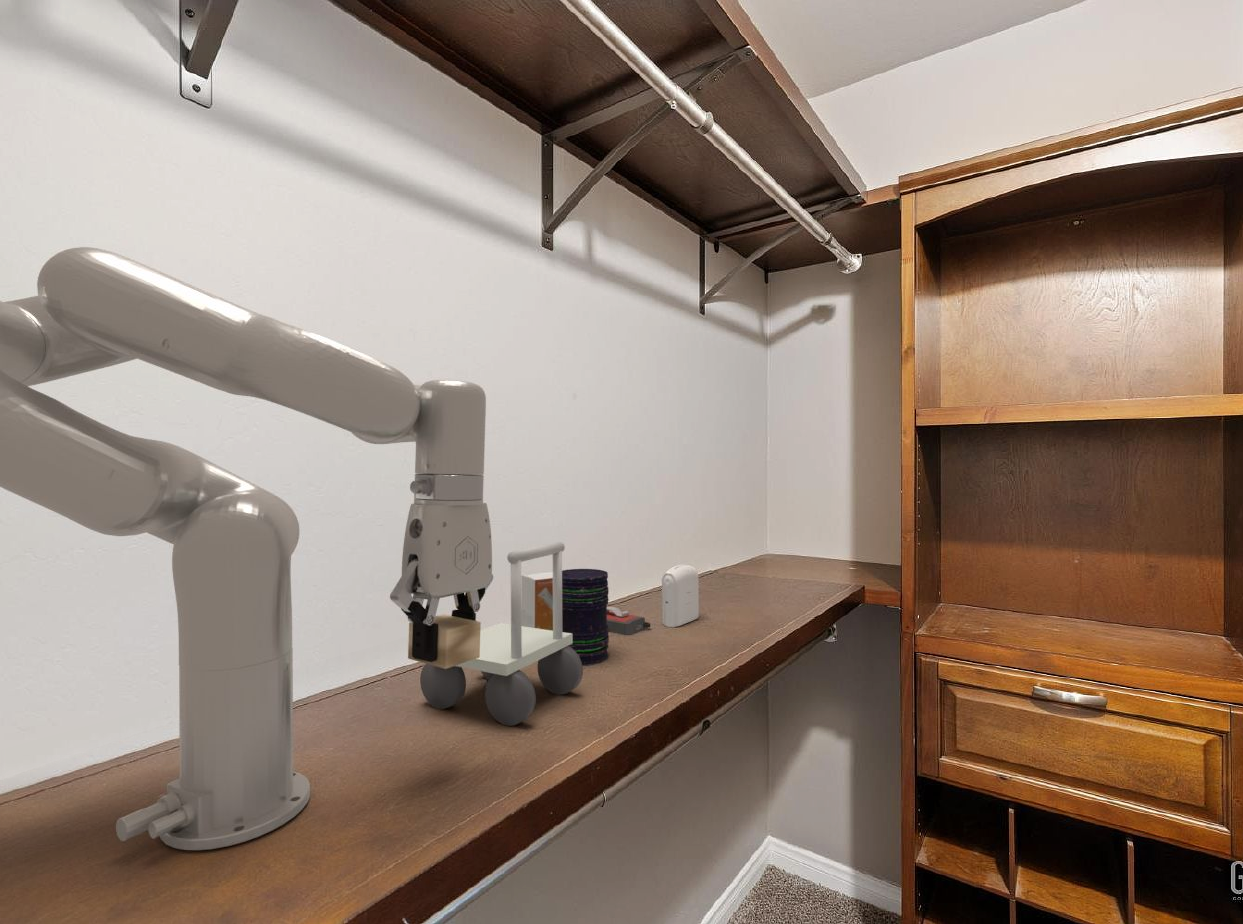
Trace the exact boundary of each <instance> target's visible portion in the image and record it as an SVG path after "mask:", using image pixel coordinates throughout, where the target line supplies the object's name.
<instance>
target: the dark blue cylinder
mask: <svg viewBox="0 0 1243 924" xmlns="http://www.w3.org/2000/svg"><path fill="white" fill-rule="evenodd" d="M608 578H609V573H608V571H605V570H603V569H602V570H601V569H597V568H573V569H572V568H571V569H562V632H565V633H572V639H573V643H572V644H570V645H568V646H569V647H571V648H572V649H573V650H574V651H575V652H576V653H577V654H578V656H579V658H580V660H581V662H582V667H584V666H585V667H586V666H593V665H597V664H601V663H603V662H605V661H606V660H608V659H609V652H608V649H609V643H610V636H609V633H610V632H609V629H608V625H607V606H608V604H609V600H610V599H609V581H608Z"/></svg>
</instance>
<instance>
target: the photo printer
mask: <svg viewBox="0 0 1243 924" xmlns="http://www.w3.org/2000/svg"><path fill="white" fill-rule="evenodd" d="M699 582H700V581H699V572H698V569H697V568H695V567H694V566H693V565H688V564H678V565H675V566H673V567H671V568H670V569H668V570H666V572H665V573H663V575H662V578H661V606H662V607H661V612H662V614H661V615H662V617H661V619H662V624H663V625H664V626H665V627H667V628H676V627H681V626H682V625H685V624H687V623H690V622H692V621H695V620H697V619H699V615H700V602H699V601H700V598H699V597H700V595H699V593H700V591H699V588H700V587H699Z"/></svg>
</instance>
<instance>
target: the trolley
mask: <svg viewBox="0 0 1243 924" xmlns="http://www.w3.org/2000/svg"><path fill="white" fill-rule="evenodd" d="M565 549H566V548H565V544H564V543H563V542H562V541H556V542H552V543H547V544H543V545H537V546H533V547H527V548H523V549H517V550H513V551H509V553H508V554H507V557H506V558H507V561H508V562H509V564H510V624H509V623H501V622H499V623H497V624H494V625H491V626H488V627H485V628H482V629H480V657H479V658H476V659H473V660H470V661H467V662H464V663H461V664H459V665H456V666H453V667H450V668H447V669H444V668H440V667H437V666H433V665H430V664H426V663H424V665H423V667H422V669H421V670H420V671H421V672H420V682H419V683H420V689H421V692H422V694H423V696H424V699H425V700H426V702H427V703H428V704H430V705H431V706H432V707H433V708H435V709H439V710H446V709H448V708H450V707H452V706H455V705H456V704H458V703H459V702H460V701H462V699H463V698H464V695H466V694H465V692H466V689H467V679H466V675H465V671H464V669H469V670H473V671H480V672H481V674H482V676H483V677H485V679H487V680H488V681H487V683H486V686H485V690H484V691H485V693H484V694H485V697H484V698H485V702H486V705H487V709H488V711H489V713H490V714H491V716H492V717H493V718H494V719H495V720H496V721H497V722H498V723H500V724H502V725H505V726H509V727H510V726H512V727H513V726H516V725H518V724H520V723H521V722H523V721H525V720H526V719H528V718H529V717H530V716H531V715H532V713H533V712H534V710H535V707H536V701H537V699H536V691H535V687H534V685H533V682H532V681H531V679H530V678H529V677H528V675H527V674H526V673H525V672H523V671H522V669H523V668H526V667H528V666H530V665H531V664H534V663H536V662H537V666H536V668H537V675H538V678H539V680H540V682H541V684H542V685H543V687H544V688H545V689H546V690H547V691H548V692H550V693H552V694H554V695H560V696H561V695H566V694H568V693H571V691H572V690H575V689H576V688H577V687H578V686H579V685H580V683H581V681H582V679H583V674H584V672H583V671H584V668H583V667H584V666H582V662H581V660H580V658H579V656H578V654H577V653H576V652H575V651H574V650H573V649H572V648H571V647H569V646H568V645H570V644H572V643H573V639H572V633H565V632H562V571H563V552H564V551H565ZM551 555H552V572H553V631H551V630H544V629H537V628H530V627H524V626H521V601H522V591H521V576H522V562H526V561H530V560H531V561H532V560H535V559H539V558H543V557H546V556H551ZM463 668H464V669H463Z"/></svg>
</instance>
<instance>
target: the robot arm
mask: <svg viewBox="0 0 1243 924" xmlns="http://www.w3.org/2000/svg"><path fill="white" fill-rule="evenodd" d="M36 285H37V287H36V288H37V294H38V295H34V296H30V297H25V298H20V299H14V300H9V301H1V300H0V488H2V489H4V490H5V491H8V492H10V493H12V494H14V495H17V496H19V497H22V498H23V499H26V500H28V501H30V502H31V503H34V504H36V505H39V506H42V507H43V508H45V509H48V510H50V511H52V512H54V513H56V514H58V515H61V516H62V517H64V518H67V519H69V520H71V521H73V522H74V523H77V524H78V525H81V526H82V527H85V528H87V529H89V530H91V531H93V532H96V533H99V534H102V535H106V536H115V537H129V536H137V535H141V534H145V533H147V534H149V535H151V536H154V537H156V538H158V539H161V540H162V541H165V542H167V543H169V544H171V545H173V547H172V555H171V569H172V570H171V572H172V579H173V586H174V594H175V602H176V609H177V610H176V611H177V624H178V626H177V627H178V628H177V631H178V632H177V633H178V668H179V669H178V671H179V673H178V675H179V676H178V678H179V680H178V681H179V684H178V686H179V687H178V688H179V691H178V693H179V695H178V696H179V701H178V702H179V703H178V704H179V706H178V707H179V721H178V724H179V726H178V727H179V778H176V779H175V780H172V781H170V782H168V783H167V785H166V792H167V793H166V794H165V795H163V796H161V797H159V798H158V799H157V800H156V803H155V804H152V805H150V806H148V807H146V808H140V809H138V810H136V811H133V812H131V813H129V814H127V815H125V816H122V817H119V818H118V819H117V821H116V824H115V831H116V834H117V837H118V839H119V840H120V841H121V842H126V841H127V840H129V839H132V838H134V837H136V836H138V835H140V834H142V833H145V832H146V831H148V835H149V836H150V838H151V839H157V838H160V840H161V842H163V843H164V844H165V845H167V846H169V847H171V848H174V849H178V850H182V851H183V850H184V851H207V850H215V849H221V848H225V847H230V846H234V845H238V844H242V843H244V842H247V841H251V840H254V839H257V838H259V837H261V836H263V835H265V834H267V833H270V832H272V831H274V830H276V829H278V828H279V827H281V826H283V825H285V824H286V823H288V822H289V821H290V820H292V819H293V818H295V817H296V816H297V815H298V814H299V813H300V812H301V811H302V810H303V809H304V808H305V806H306V805H307V804H308V802H309V800H310V798H311V784H310V780H309V779H308V778H307V776H305V775H303V774H302V773H301V772H298V771H294V713H293V712H294V703H293V702H294V700H293V698H294V692H293V690H294V688H293V687H294V685H293V683H294V681H293V679H294V678H293V674H294V673H293V671H294V670H293V668H294V667H293V665H294V664H293V661H294V660H293V654H294V653H293V650H294V649H293V608H292V607H293V606H292V605H293V602H292V601H293V600H292V578H291V575H292V573H291V572H292V571H291V570H292V569H291V565H292V555H293V553H294V552H295V550H296V548H297V547H298V544H299V539H300V523H299V520H298V517H297V514H296V512H294V510H293V509H292V507H291V506H290V505H289V504H288V503H287V502H286V501H285V500H283V499H282V498H280V497H279V496H277V495H276V494H274V493H273V492H270V491H268V490H266V489H264V488H262V487H260V486H258V485H256V484H255V483H252V482H250V481H248V480H246V479H244V478H242V477H241V476H239V475H237V474H235V473H232V472H231V471H229V470H227V469H225V468H223V467H222V466H219V465H217V464H215V463H214V462H211V461H209V460H207V459H206V458H204V457H202V456H200V455H198V454H196V453H194V452H192V451H190V450H187V449H185V448H183V447H180V446H179V445H176V444H173V443H171V442H170V443H169V442H166V441H163V440H157V439H149V438H143V437H137V436H133V435H129V434H127V433H125V432H123V431H122V432H121V431H119V430H117V429H114V428H112V427H111V426H108V425H106V424H103V423H101V422H100V421H97V420H96V419H93V418H91V417H89V416H87V415H85V414H84V413H81V412H79V411H77V410H75V409H73V408H72V407H70V406H68V405H67V404H65V403H63V402H61V401H59V400H58V399H55V398H54V397H51V396H50V395H47V394H45V393H43V392H40V391H38V390H36V389H34V388H32V387H31V386H36V385H40V384H45V383H49V382H52V381H53V382H54V381H57V380H61V379H65V378H68V377H73V376H77V375H81V374H85V373H88V372H93V371H96V370H97V371H98V370H101V369H104V368H109V367H112V366H116V365H119V364H123V363H124V364H125V363H127V362H130V361H135V360H137V359H138V360H139V361H143V362H146V363H148V364H151V365H152V366H156V367H158V368H161V369H162V370H163V369H164V370H166V371H169V372H171V373H174V374H177V375H180V376H181V377H185V378H187V379H190V380H193V381H195V382H198V383H200V384H201V385H202V384H203V385H205V386H208V387H210V388H213V389H214V390H218V391H221V392H225V393H228V394H230V395H235V396H242V397H249V398H250V397H251V398H255V399H259V400H265V401H267V402H271V403H273V404H277V405H279V406H282V407H285V408H288V409H290V410H293V411H296V412H299V413H301V414H304V415H306V416H309V417H312V418H315V419H318V420H320V421H323V422H325V423H327V424H330V425H332V426H334V427H335V426H336V427H337V428H341V429H342V430H345V431H348V432H350V433H351V434H352V436H355V437H356V438H358V439H359V441H363V442H365V443H369V444H373V445H388V444H389V445H390V444H398V443H399V444H401V443H414V442H415V462H414V467H415V468H414V480H413V481H411V482H410V484H409V489H410V492H411V493H412V494H413V495H414V496H413V503H410V506H409V511H408V515H407V521H406V524H405V530H404V531H405V532H404V537H403V546H402V555H401V559H402V560H401V576H400V578H399V580H398V581H397V583H396V584H395V586H394V588H393V589H392V591H391V593H390V595H389V599H390V600H391V602H393V603H394V604H395V605H396V606H398V607H399V608H400V610H401V611H402V612H403V613H404V615H406V617H407V620H408V622H413V635H412V657H413V658H415V659H420V660H424V661H428V662H433V661H436V660H437V647H438V628H439V627H438V624H436V623H433V622H434V620H435V616H437V610H438V607H439V604H440V603H439V602H440V599H442V598H447V597H452V596H453V599H454V605H455V608H456V609H452V611H451V616H454V617H459V618H464V619H469V620H474V621H477V620H476V619H477V613H478V612H479V610H480V609H481V602H482V599H483V598H484V596H485V594H486V591H487V589H488V588H489V586H490V585H491V584H492V582H493V580H494V574H493V545H492V542H493V541H492V528H491V521H490V511H489V509H488V504H487V503H486V502H484V483H485V482H484V480H485V479H484V474H485V473H484V472H485V449H486V448H485V446H486V445H485V444H486V443H485V441H486V440H485V439H486V411H487V397H486V393H485V391H484V388H483V387H481V386H480V385H479V384H476V383H474V382H470V381H465V380H464V381H463V380H456V379H452V380H451V379H435V380H434V379H433V380H428V381H425V382H424V383H422V384H421V385H420V384H414V383H413V382H412V380H410V378H409V377H407V375H405V374H404V373H403V372H402V371H400V370H399V369H397V368H395V367H393V366H391V365H389V364H387V363H385V362H383V361H380V360H378V359H376V358H374V357H371V356H369V355H367V354H365V353H362V352H360V351H357V350H355V349H353V348H351V347H348V346H346V345H344V344H341V343H339V342H337V341H334V340H332V339H329V338H327V337H324V336H322V335H319V334H317V333H314V332H311V331H308V330H307V329H303V328H300V327H296V326H293V325H291V324H287V323H285V322H283V321H280V320H278V319H275V318H272V317H270V316H266V315H264V314H261V313H259V312H258V313H257V312H256V311H253V310H251V309H248V308H245V307H243V306H240V305H239V304H236V303H234V302H232V301H229V300H227V299H224V298H223V297H219V296H216V295H214V294H212V293H210V292H207V291H205V290H203V289H201V288H198V287H196V286H193V285H192V284H189V283H188V282H185V281H183V280H180V279H177V278H176V277H174V276H171V275H169V274H166V273H164V272H162V271H159V270H157V269H155V268H152V267H151V266H149V265H146V264H143V263H141V262H138V261H136V260H134V259H131V258H129V257H127V256H124V255H121V254H118V253H116V252H113V251H111V250H106V249H102V248H98V247H88V246H87V247H86V246H83V247H80V246H79V247H73V248H68V249H64V250H62V251H60V252H57V253H56V254H55V255H53V256H52V257H50V258H49V259H48V260H47V261H46V262H44V264H43V266H42V267H41V269H40V271H39V272H38V276H37V281H36ZM425 600H427V601H426V604H425V607H424V606H423V605H424V601H425Z"/></svg>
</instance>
